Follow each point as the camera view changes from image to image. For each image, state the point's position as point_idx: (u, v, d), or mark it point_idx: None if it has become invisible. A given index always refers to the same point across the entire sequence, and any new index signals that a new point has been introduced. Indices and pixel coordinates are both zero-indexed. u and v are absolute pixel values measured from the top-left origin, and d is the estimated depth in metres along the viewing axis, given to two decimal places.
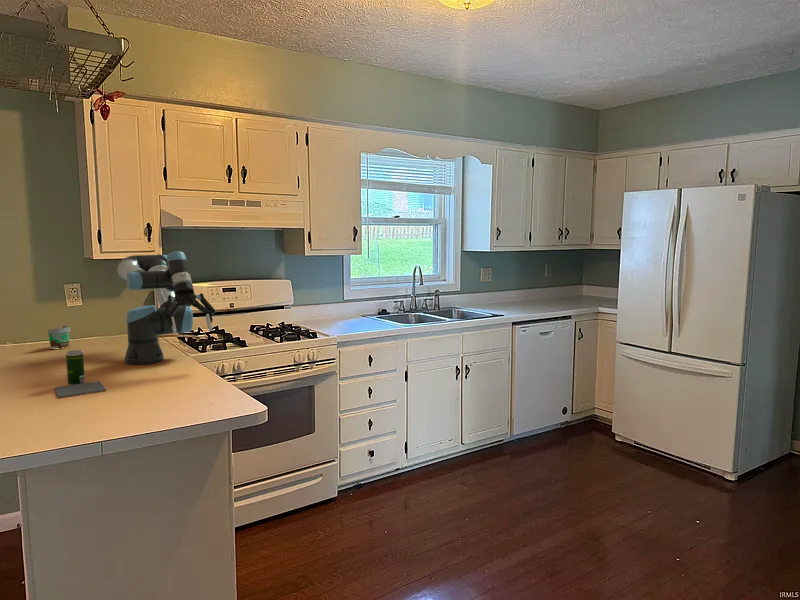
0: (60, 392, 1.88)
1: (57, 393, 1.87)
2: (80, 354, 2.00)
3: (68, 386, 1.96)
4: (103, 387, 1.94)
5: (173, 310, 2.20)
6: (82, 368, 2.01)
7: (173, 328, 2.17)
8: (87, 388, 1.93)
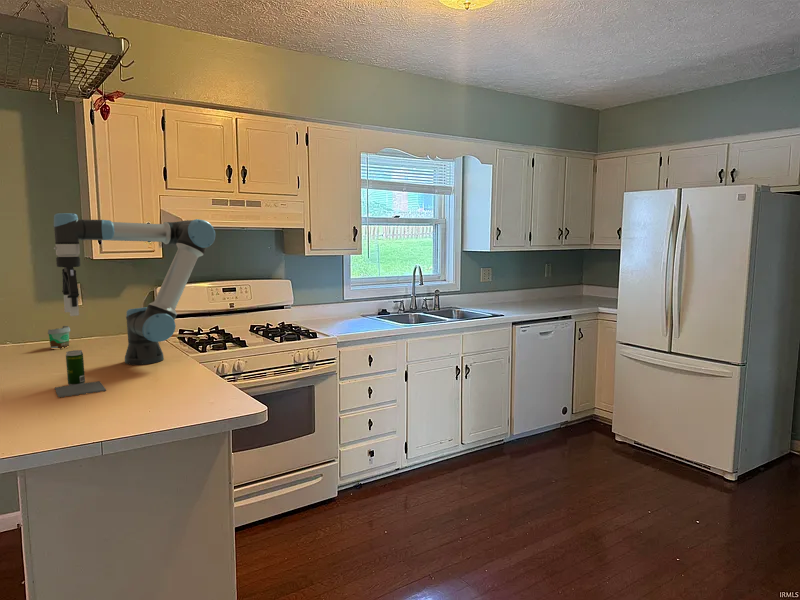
0: (60, 392, 1.88)
1: (57, 393, 1.87)
2: (80, 354, 2.00)
3: (68, 386, 1.96)
4: (103, 387, 1.94)
5: (63, 287, 2.09)
6: (82, 368, 2.01)
7: None
8: (87, 388, 1.93)
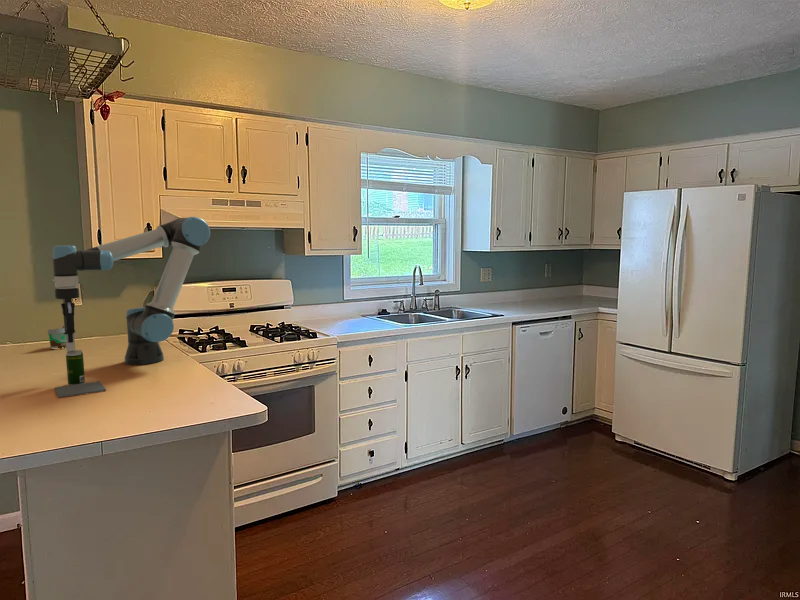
0: (60, 392, 1.88)
1: (57, 393, 1.87)
2: (80, 354, 2.00)
3: (68, 386, 1.96)
4: (103, 387, 1.94)
5: (65, 324, 2.07)
6: (82, 368, 2.01)
7: None
8: (87, 388, 1.93)
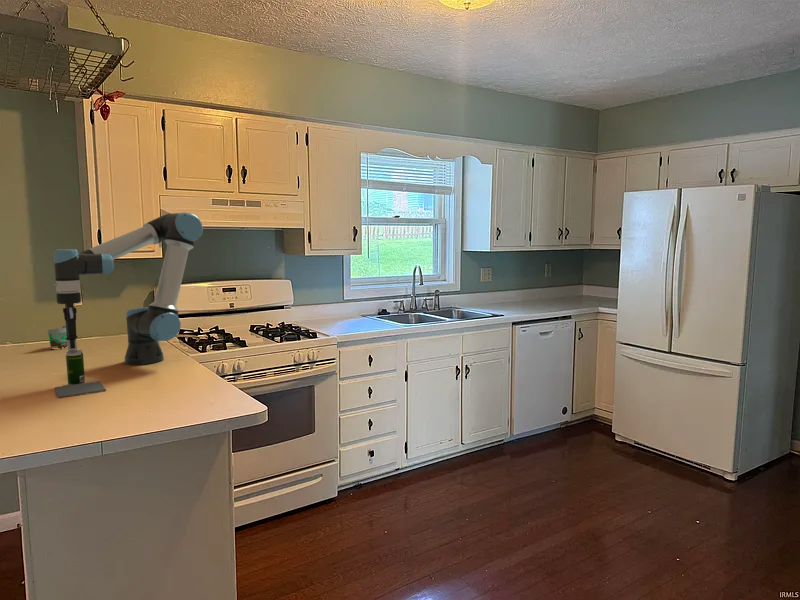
0: (60, 392, 1.88)
1: (57, 393, 1.87)
2: (80, 354, 1.99)
3: (68, 386, 1.96)
4: (103, 387, 1.94)
5: None
6: (82, 368, 2.00)
7: None
8: (87, 388, 1.93)
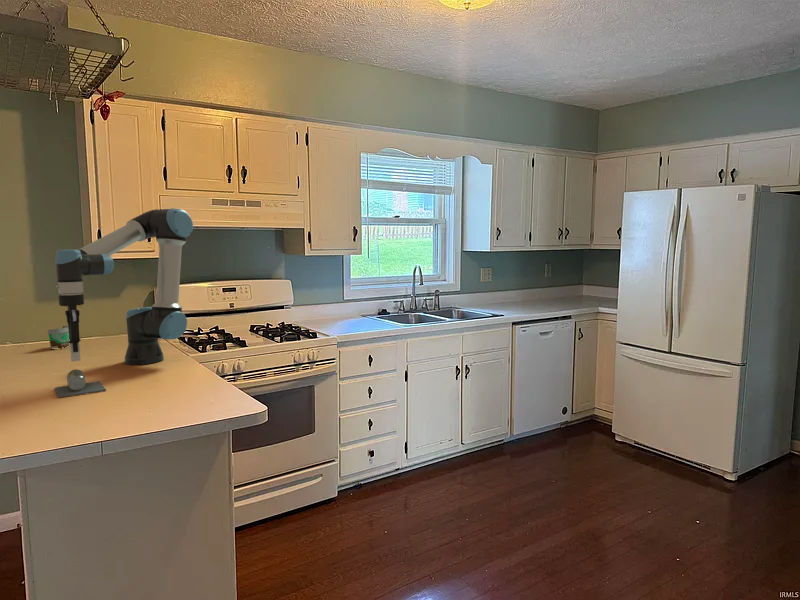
0: (60, 392, 1.88)
1: (57, 393, 1.87)
2: (83, 386, 1.91)
3: None
4: (103, 387, 1.94)
5: (69, 332, 1.95)
6: None
7: None
8: (87, 388, 1.93)
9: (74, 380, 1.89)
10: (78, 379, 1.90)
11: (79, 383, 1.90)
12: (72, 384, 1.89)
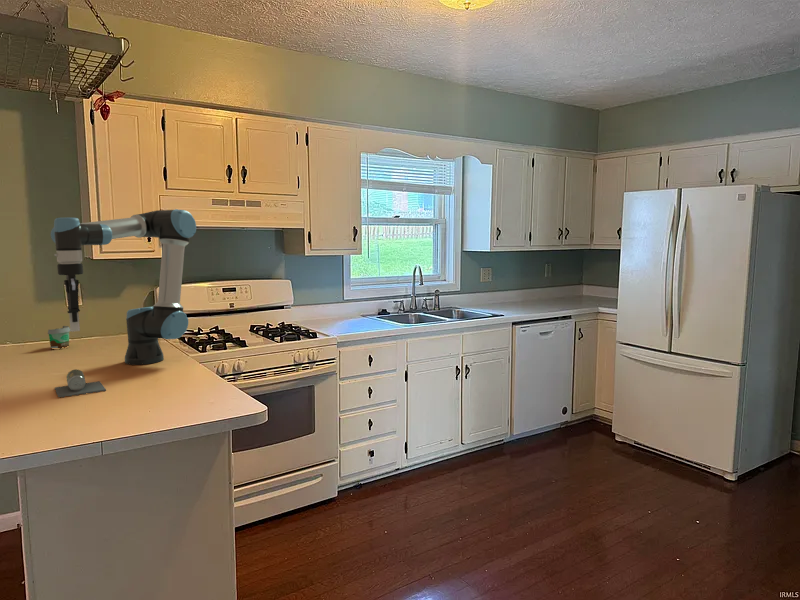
0: (60, 392, 1.88)
1: (57, 393, 1.87)
2: (83, 386, 1.91)
3: None
4: (103, 387, 1.94)
5: (68, 302, 1.93)
6: None
7: None
8: (87, 388, 1.93)
9: (74, 380, 1.89)
10: (78, 379, 1.89)
11: (79, 383, 1.90)
12: (72, 384, 1.89)
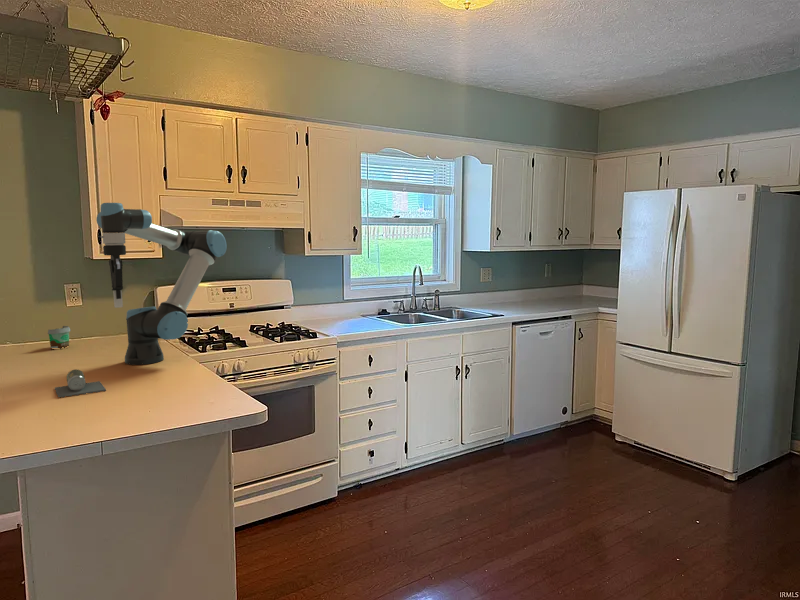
0: (60, 392, 1.88)
1: (57, 393, 1.87)
2: (83, 386, 1.91)
3: None
4: (103, 387, 1.94)
5: (112, 280, 2.10)
6: None
7: None
8: (87, 388, 1.93)
9: (74, 380, 1.89)
10: (78, 379, 1.89)
11: (79, 383, 1.90)
12: (72, 384, 1.89)
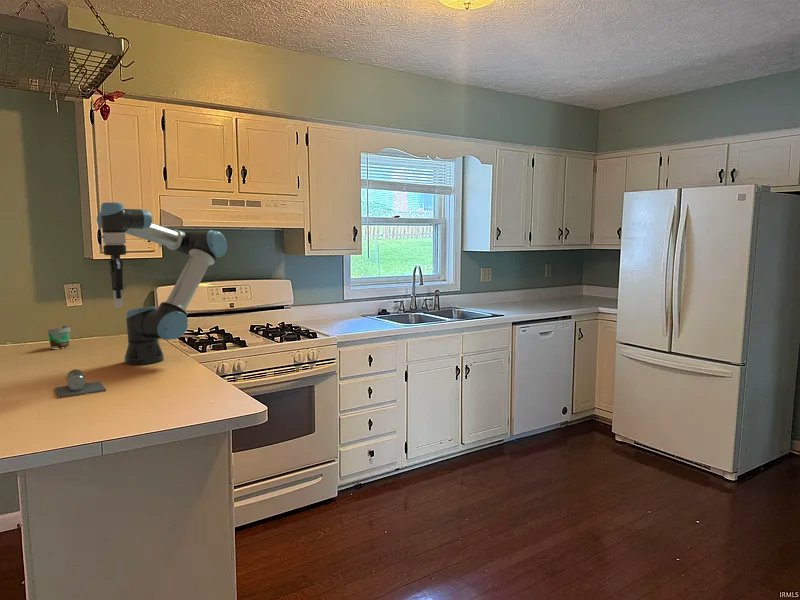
0: (60, 392, 1.88)
1: (57, 393, 1.87)
2: (83, 386, 1.91)
3: None
4: (103, 387, 1.94)
5: (112, 280, 2.10)
6: None
7: None
8: (87, 388, 1.93)
9: (74, 380, 1.89)
10: (78, 379, 1.89)
11: (79, 383, 1.90)
12: (72, 384, 1.89)
